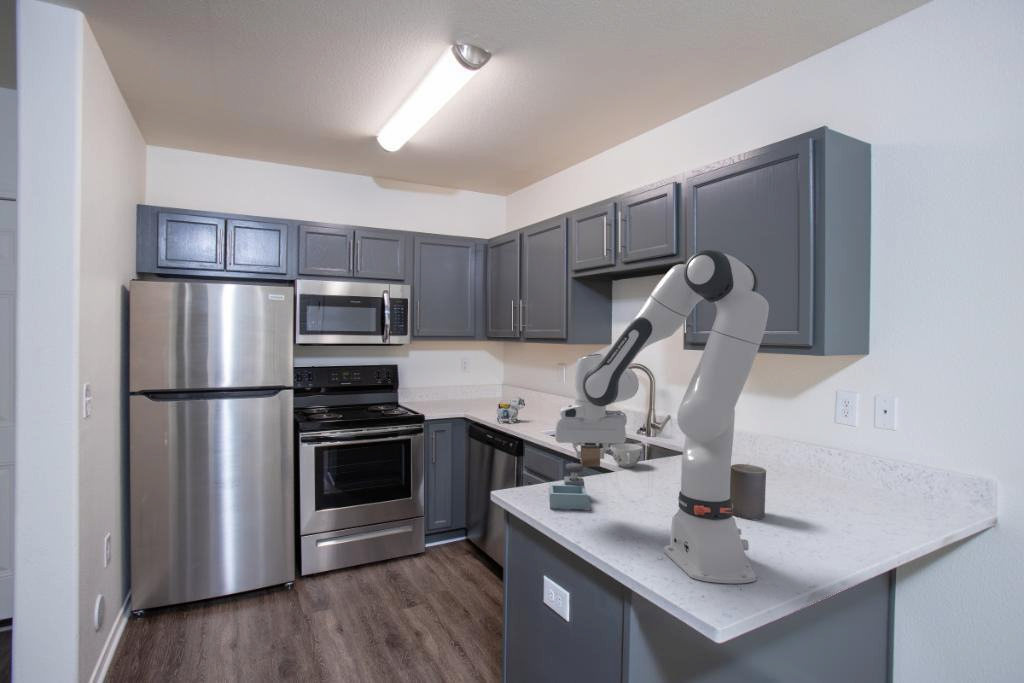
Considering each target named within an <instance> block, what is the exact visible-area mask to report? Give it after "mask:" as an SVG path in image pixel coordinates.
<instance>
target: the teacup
mask: <svg viewBox="0 0 1024 683" xmlns="http://www.w3.org/2000/svg"><path fill="white" fill-rule="evenodd" d="M643 447H644V446H642V445H639V444H635V443H633V444H632V443H627V442H625V443H613V444H611V445H610V451H611V455H612V458H613V459H614V461H615V463H616V464H618V466H619V467H621V468H628V469H629V468H634V467H635V466H636V464H638V462H639V461H640V460H641V457H642V454H643V449H644V448H643Z"/></svg>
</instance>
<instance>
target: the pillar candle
mask: <svg viewBox="0 0 1024 683" xmlns="http://www.w3.org/2000/svg"><path fill="white" fill-rule="evenodd" d="M766 481H767V470H766V469H765V468H764V467H761V466H757V465H753V464H749V463H747V464H744V463H735V464H731V475H730V497H731V498H732V503H733V517H737V518H739V517H740V519H744V518H745V520H750V519H758V520H762V518H763V519H764V518H765V511H766V490H767V489H766V485H767V484H766V483H767V482H766Z"/></svg>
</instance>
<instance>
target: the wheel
mask: <svg viewBox="0 0 1024 683" xmlns="http://www.w3.org/2000/svg"><path fill="white" fill-rule="evenodd" d="M565 471H567V472H569V473H570V477H571V480H575V481H577V477H578V473H582V472H584V466H582V464H581V463H577V462H576V463H575V462H569V463H566V464H565Z"/></svg>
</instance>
